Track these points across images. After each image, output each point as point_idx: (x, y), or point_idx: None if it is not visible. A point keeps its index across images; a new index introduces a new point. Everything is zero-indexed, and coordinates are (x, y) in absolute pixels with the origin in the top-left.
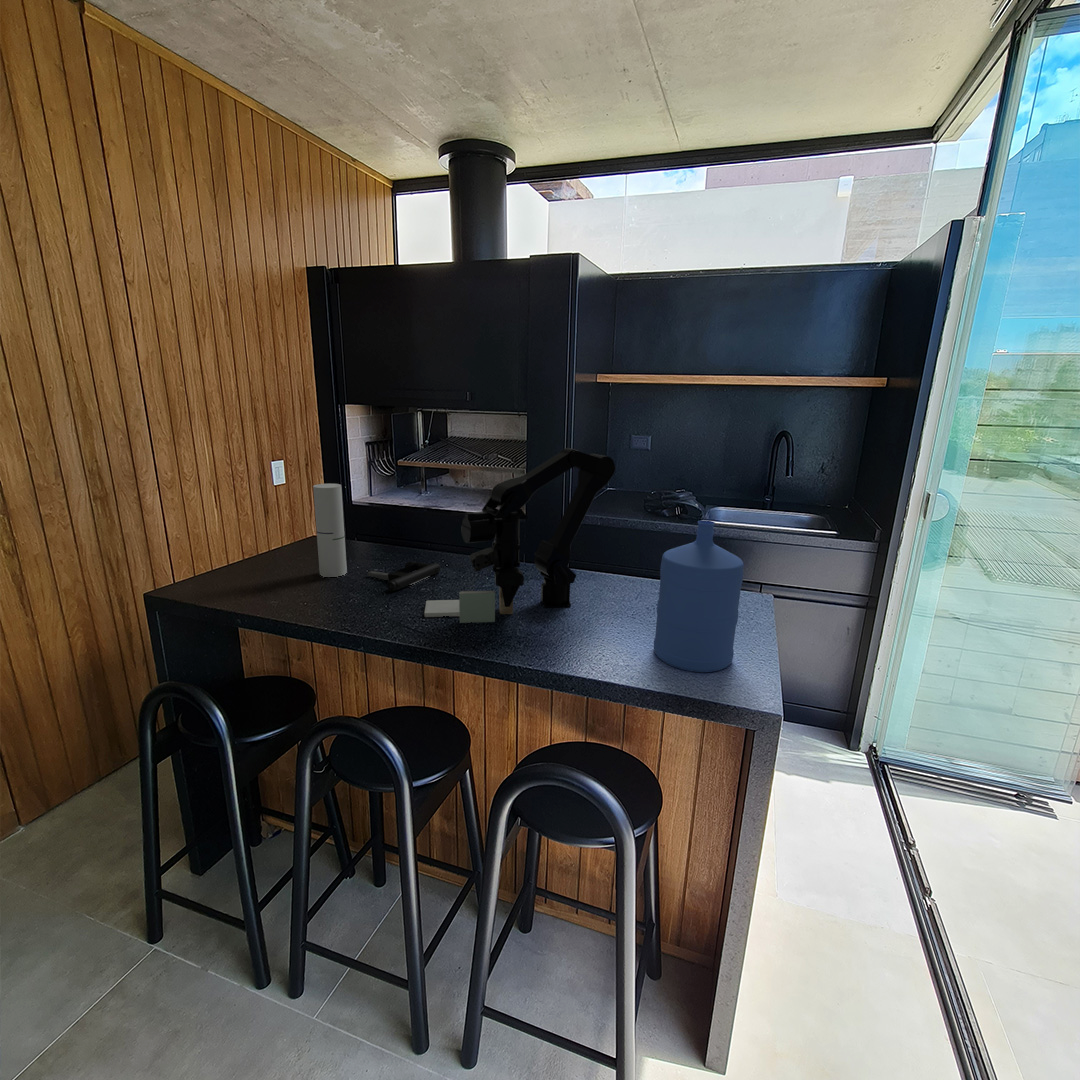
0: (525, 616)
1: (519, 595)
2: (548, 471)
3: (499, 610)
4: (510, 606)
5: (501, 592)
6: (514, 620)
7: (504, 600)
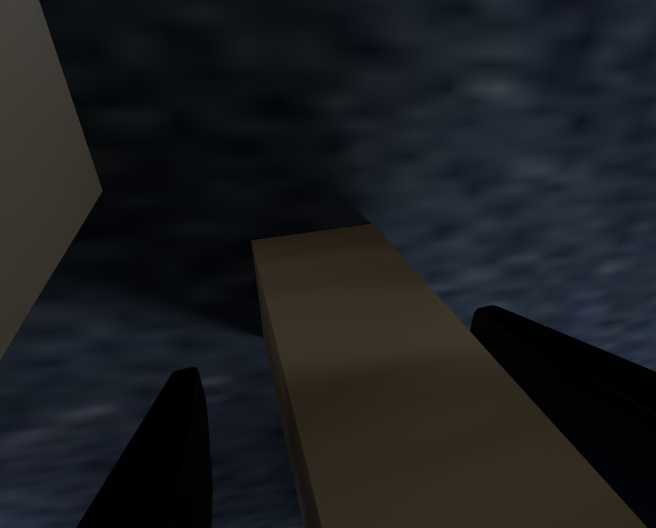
0: (217, 419)
1: (590, 330)
2: None
3: (344, 228)
4: (272, 375)
5: (305, 469)
6: (110, 369)
7: (124, 460)
